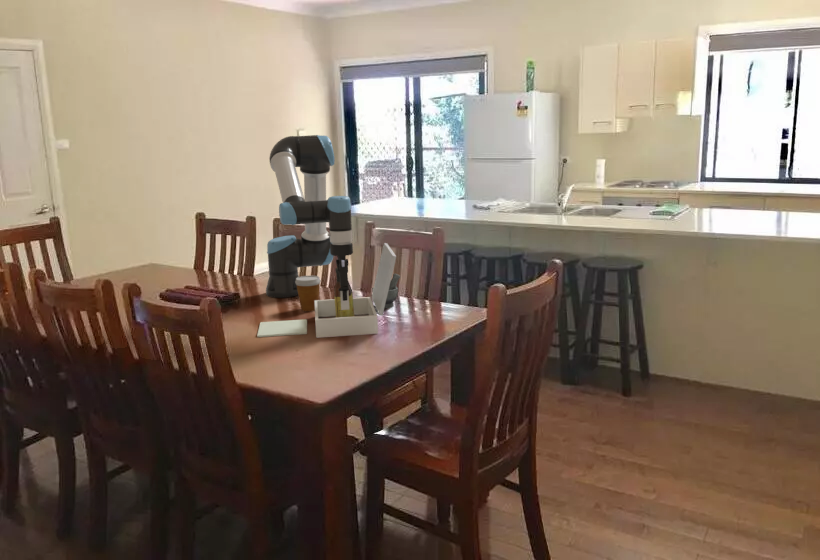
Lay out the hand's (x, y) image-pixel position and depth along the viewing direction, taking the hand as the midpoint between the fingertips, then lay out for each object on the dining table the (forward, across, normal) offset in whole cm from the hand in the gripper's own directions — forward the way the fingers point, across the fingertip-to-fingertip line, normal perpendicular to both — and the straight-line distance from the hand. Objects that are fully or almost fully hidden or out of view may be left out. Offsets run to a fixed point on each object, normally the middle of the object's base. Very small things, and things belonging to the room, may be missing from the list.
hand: (344, 304), depth 233 cm
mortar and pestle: (+7, -22, +17) cm, 29 cm away
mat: (+7, 0, -21) cm, 22 cm away
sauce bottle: (+7, 0, 0) cm, 7 cm away
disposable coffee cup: (+7, -24, -12) cm, 28 cm away
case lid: (-9, 0, +13) cm, 16 cm away
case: (+7, 0, 0) cm, 7 cm away
